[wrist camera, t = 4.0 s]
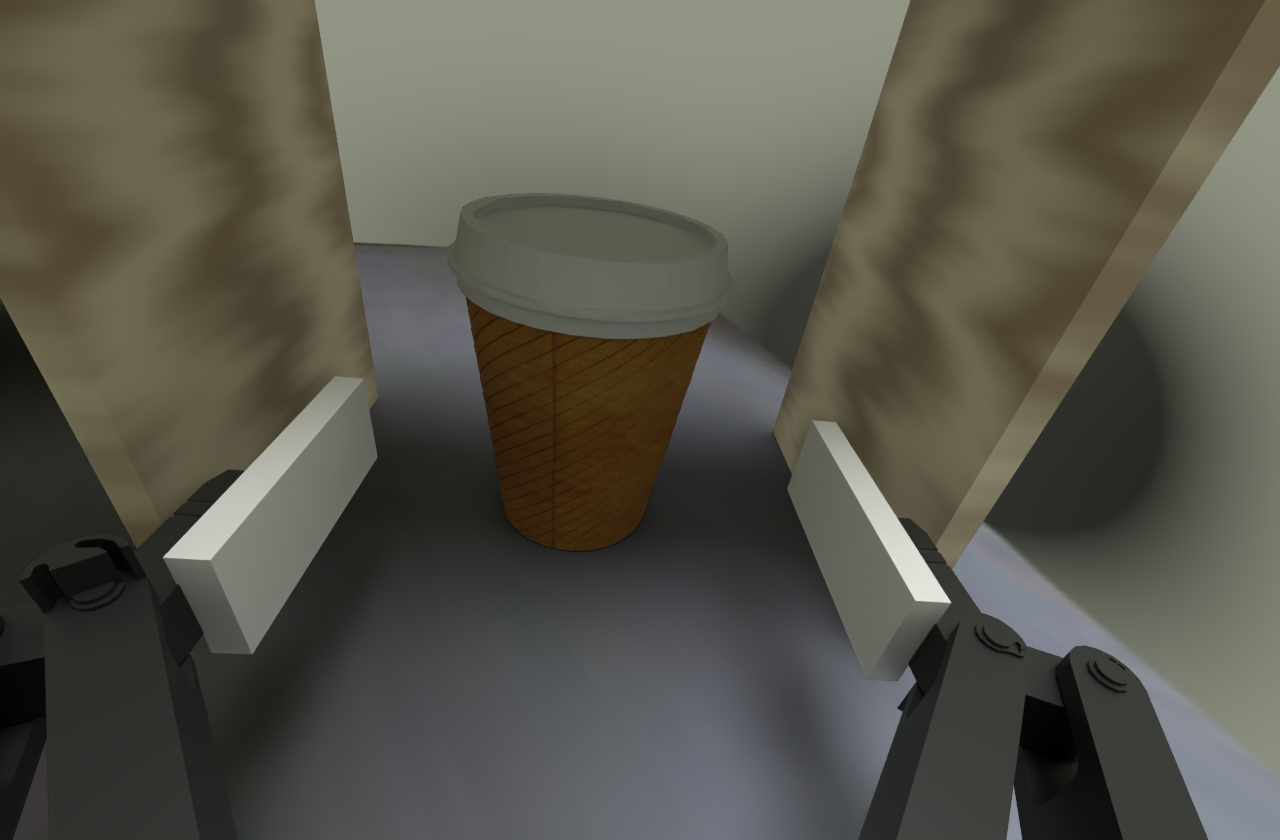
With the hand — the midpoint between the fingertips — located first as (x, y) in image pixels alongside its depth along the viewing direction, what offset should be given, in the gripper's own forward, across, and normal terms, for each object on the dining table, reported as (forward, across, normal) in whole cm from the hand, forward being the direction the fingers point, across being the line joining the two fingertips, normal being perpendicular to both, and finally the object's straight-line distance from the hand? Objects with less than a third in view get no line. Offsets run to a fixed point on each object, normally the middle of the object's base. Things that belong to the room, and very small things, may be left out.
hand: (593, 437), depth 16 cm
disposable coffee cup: (+5, 0, -7) cm, 9 cm away
